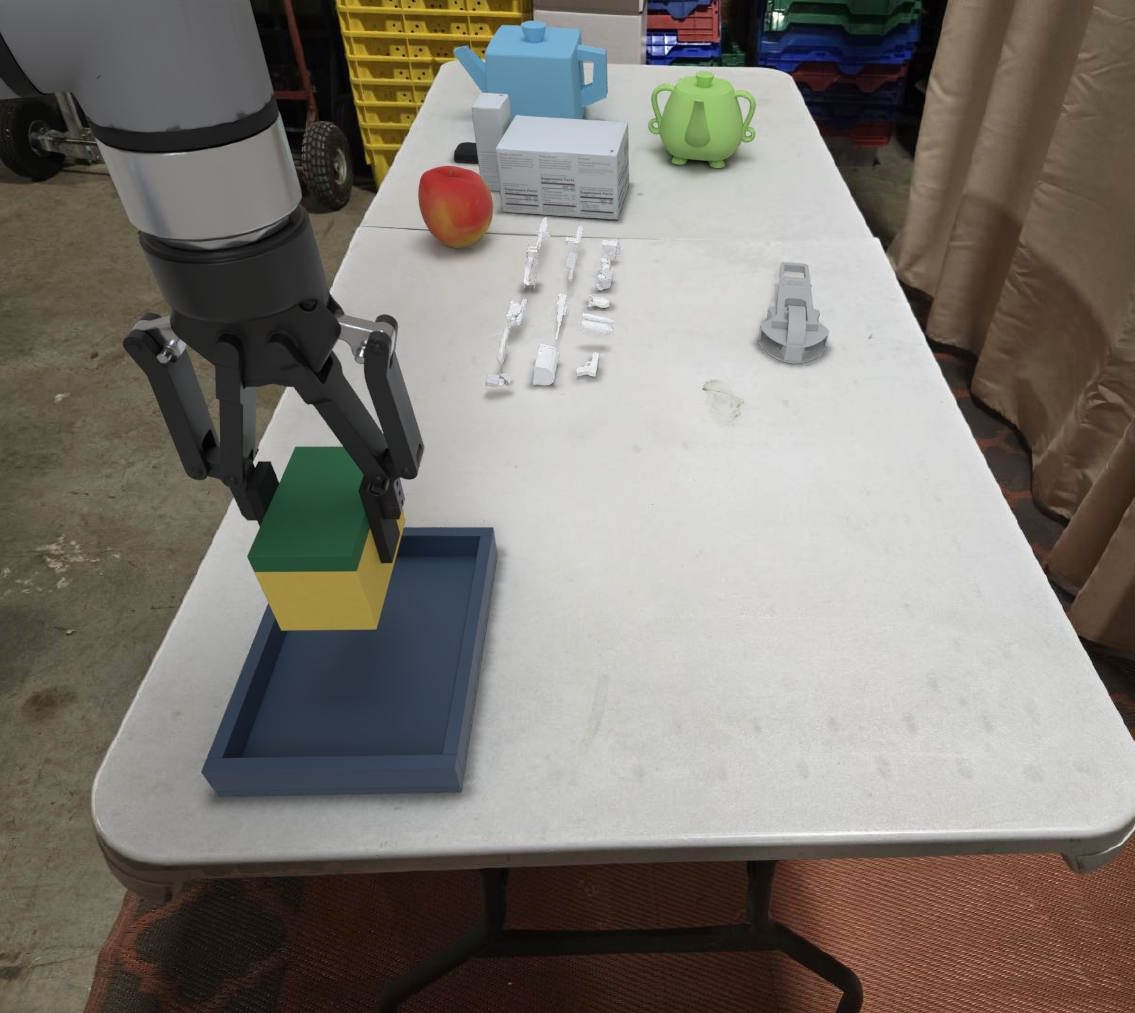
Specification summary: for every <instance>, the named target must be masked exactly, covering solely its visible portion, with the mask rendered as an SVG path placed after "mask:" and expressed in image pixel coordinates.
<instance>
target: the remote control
mask: <svg viewBox="0 0 1135 1013" xmlns="http://www.w3.org/2000/svg"><path fill="white" fill-rule="evenodd" d="M453 161H454V162H457V163H470V164H479V162H478V155H477V147H476V142H473V141H472V142H471V141H463V142H460V143H458V145H457V146H456V147H455V149H454V151H453Z"/></svg>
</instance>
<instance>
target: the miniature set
mask: <svg viewBox="0 0 1135 1013" xmlns="http://www.w3.org/2000/svg"><path fill="white" fill-rule="evenodd" d="M548 223H549V222H548V217H544V218H542V220H541V222H540V225H539V228H538V231H537V230H536V231H535V235H536V236H537V238H536V242H535V244H534V246H533V245H532V246H531V245H530V240H528V241H527V245H526V250H525V251H526V253H525V265H524V275H523V289H526V286H529V285H532V286H533V289H535V288H536V284H537V274H538V273H537V272H538V261H539V250H541V247H542V242H543V239H550V238H551V237H552V234H551V233H550V232H547V228H548ZM584 231H585V229H584V227H583V225H578V228H577V231H576V235H575V236H574V235H573V236H572V237H571V236H565V241H564V244H565V245H567V246H568V245H569V246H573V247H574V248H578V247H580V245H581V241H582V236H583V232H584ZM621 251H623V248H622V247H621V243H620V238H617V240H610V239H609V240H608V239H603V240H601V248H600V252H602V253H604V254H607V255H610V256H612V257H614V259H615V260H616V259H617V257H618V255H619V254H620V253H621ZM529 253H536V256H534V257H529ZM578 255H579V254H578V253H577V252H568V255H567V258H566V264H565V269H569V273H568V281H570V282H571V281H573V276H574V270H575V266H576V262H577V259H578ZM607 255H605V257H602V258H600V263H601V267H599V269H598V271H599V274H598V275H597V279H598V280H599V283H597V284H596V285H595V287H596V288H597V290H598V291H603V290H604V289H610V288H611V286H612V280H613V274H614V271H613V270H611V268H612V263H611V260H610V259H609V258H608V256H607ZM534 259H535V265H534ZM533 266H535V268H534V277H533V278H530V275H531V272H532V269H533ZM557 297H558V300H557V302H556V303H555V307H557V310H556V311H557V313H556V314H557V317H556V321H555V322H556V323H557V327H556V332H555V337H554V340H555V341H557V340H558V338H559V334H560V328H561V323H562V322H563V321H562V320H563V316H566V315H567V308H568V305H567V304H566V301H567V294H565V293H558V295H557ZM610 302H611V301H610V300H609V299H607V298H605V297H602V296H600V297H599V296H595V295H593V294H592V293H590V294H589V300H588V304H587V307H588V308H590V307H598V308H600V309H603V308H605V309H607V308H609V307H610V305H611V303H610ZM527 303H528V300H527V299H526V298H522V299H521V301H520V303H519V302H515V301H514V300H510V301H509V305H510V306H509V309H508V312H507V313H506V314H505V318H506V324H505V326H504V328H503V331H502V335H501V338H500V341H499V345H498V350H497V356H496V363H497V364H498V365H503V363H504V362H505V359H506V356H507V352H508V348H509V343H508V341H509V333H510V329H511V327H512V326H515V325H516V326H520V325H522V321H523V316H524V313H525V309H526V307H527ZM565 304H566V305H565ZM614 321H615V320H614V319H612V318H610V317H608V316H603V315H597V314H592V313H586V312H583V313H582V320H581V326H580V327H581V328H580V331H582V332H587V333H593V334H599V335H603V336H608V335H610V333H612V332H613V328H612V327H611V325H610V324H613V323H614ZM536 356H537V357H536V360H535V364H534V368H533V369H534V370H533V383H532V385H533V386H538V385H539V386H550V385H552V384H553V383H554V382H555V380H556V371H557V366H558V362H559V359H560V352H559V350H558V348H556V347H555V346H553V345H549V344H544V342H541V341H540V343H539V347H538V350H537V355H536ZM599 357H600V353H598V352H592V358H591V361H586V362H585V365H584V366H576V374H575V375H576V377H582V376H585V375H588V376H590V377H596V376H597V369H598V362H599ZM514 383H515V380H514V377H512V375H510V374H508V372H503V373H500V374H497V373H492V372H491V373H490V372H488V373H487V376H486V378H485V386H486V387H490V388H496V389H497V388H498V387H499V386H504V385H505V386H506V387H511V386H512V385H514Z"/></svg>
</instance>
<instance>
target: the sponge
mask: <svg viewBox="0 0 1135 1013" xmlns="http://www.w3.org/2000/svg"><path fill="white" fill-rule="evenodd" d="M363 475H364V474H363V473H362V472H361V470H360V469H359V468H358V466H357V465H356V463H355V462H354V461H353V459H352V458H351V457H350V455H349V454H348V452H347V451H346V450H345V448H344V447H343V446H297V445H296V446H295V447H294V448H293V450H292V453H291V455H290V457H289V460H288V462H287V464H286V466H285V469H284V471H283V474H282V476H281V478H280V480H279V485H278V487H277V490H276V492H275V494H274V496H273V499H272V501H271V503H270V506H269V508H268V510H267V512H266V514H265V517H264V519H263V521H262V523H261V526H259V528H258V531H257V533H256V535H255V537H254V539H253V542H252V544H251V546H250V548H249V551H248V552H247V555H246V557H247V560H248V562H249V564H250V566H251V568H252V570H253V572H254V575H255V577H256V579H257V581H258V584H259V586H260V588H261V590H262V592H263V594H264V596H265V598H266V600H267V604H268V603H269V605H270V607H271V609H272V611H273V614H274V616H275V618H276V620H277V622H278V624H279V626H280V629H281V630H282V631H283V630H373V629H377V626H378V622H379V618H380V614H381V611H382V607H383V603H384V599H385V596H386V592H387V588H388V584H389V581H390V577H391V573H392V569H393V566H394V562H395V558H396V554H397V551H398V547H399V543H400V539H401V536H402V532H403V528H404V527H405V524H406V521H407V520H406V516H405V513H404V509H402V512H401V516H400V519H399V520H397V524H398V527H399V531H400V537H399V540H398V544H397V548H396V552H395V555H394V559H393V563H381V561H380V558H379V555H378V552H377V548H376V545H375V542H374V539H373V535H372V532H371V529H370V526H369V522H368V519H367V516H366V513H365V511H364V507H363V504H362V501H361V498H360V494H359V491H358V490H359V487H360V484H361V481H362V478H363Z"/></svg>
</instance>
